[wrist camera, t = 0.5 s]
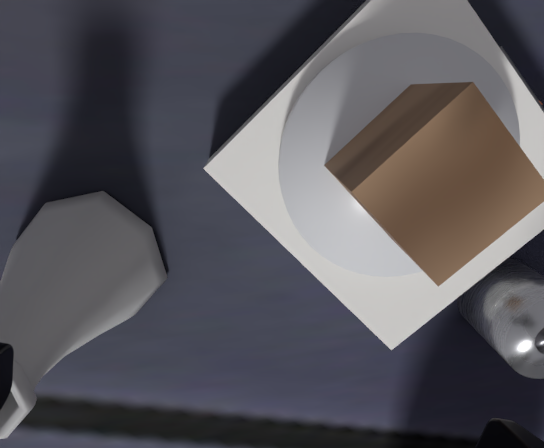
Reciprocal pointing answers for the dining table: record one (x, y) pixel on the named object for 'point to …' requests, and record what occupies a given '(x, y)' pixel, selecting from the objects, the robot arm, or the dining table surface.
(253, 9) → the dining table surface
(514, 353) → the steel weight with knob
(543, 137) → the kitchen scale
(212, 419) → the dining table surface
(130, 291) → the flask
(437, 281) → the walnut block
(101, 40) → the dining table surface
